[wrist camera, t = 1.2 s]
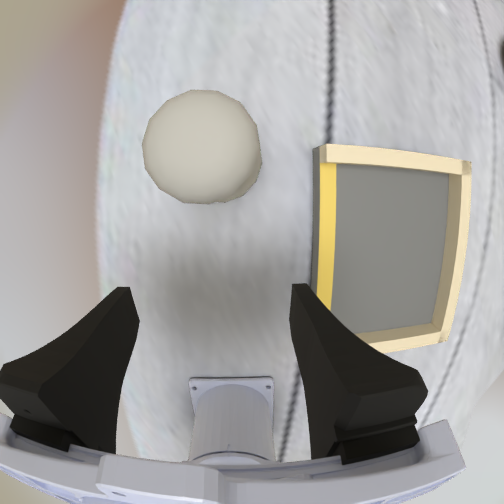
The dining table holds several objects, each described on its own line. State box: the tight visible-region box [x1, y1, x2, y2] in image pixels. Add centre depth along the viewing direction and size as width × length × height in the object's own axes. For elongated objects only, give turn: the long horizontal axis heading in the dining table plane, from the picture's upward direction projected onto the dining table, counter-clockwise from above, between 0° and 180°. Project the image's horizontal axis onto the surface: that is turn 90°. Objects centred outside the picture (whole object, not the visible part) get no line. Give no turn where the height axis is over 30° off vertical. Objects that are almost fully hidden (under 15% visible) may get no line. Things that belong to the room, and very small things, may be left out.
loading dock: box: [311, 144, 471, 353], centre depth 22 cm, size 16×13×4 cm
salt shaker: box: [142, 90, 262, 204], centre depth 15 cm, size 6×6×13 cm
